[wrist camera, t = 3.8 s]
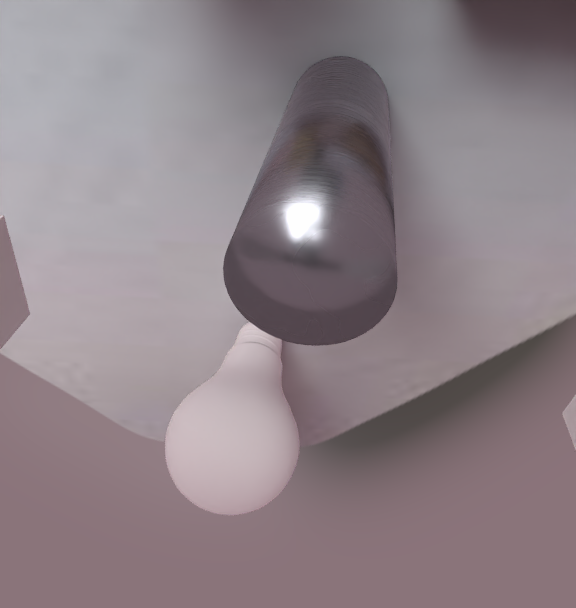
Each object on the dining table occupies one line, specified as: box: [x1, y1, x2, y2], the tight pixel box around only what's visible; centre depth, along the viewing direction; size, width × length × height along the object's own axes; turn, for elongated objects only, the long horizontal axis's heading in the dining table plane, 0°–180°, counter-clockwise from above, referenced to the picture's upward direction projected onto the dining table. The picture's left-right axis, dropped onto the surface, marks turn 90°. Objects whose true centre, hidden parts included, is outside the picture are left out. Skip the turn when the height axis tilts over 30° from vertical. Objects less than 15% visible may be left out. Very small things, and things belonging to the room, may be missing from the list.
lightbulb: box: [165, 322, 300, 515], centre depth 25 cm, size 6×6×11 cm
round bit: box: [223, 56, 397, 345], centre depth 16 cm, size 4×4×12 cm
